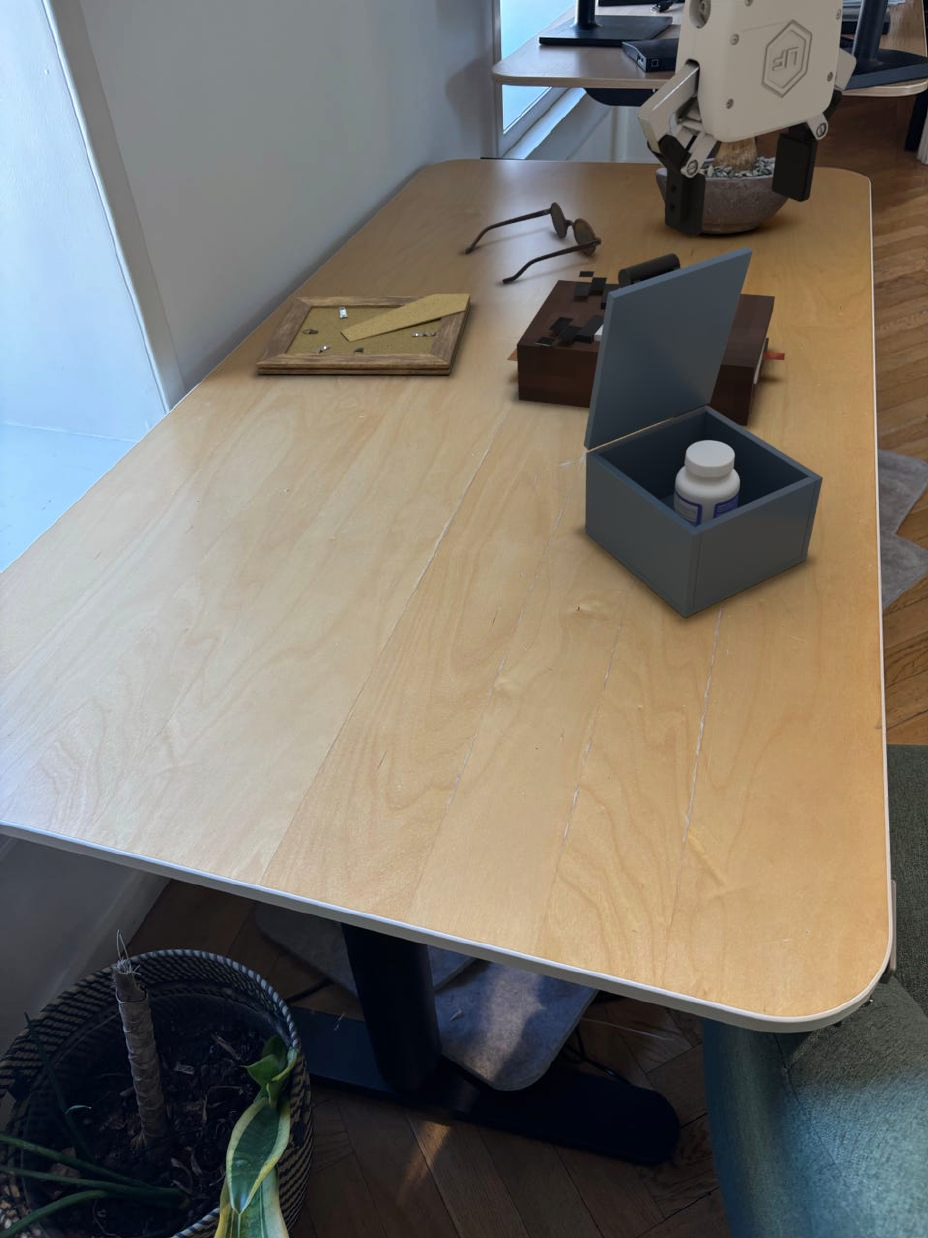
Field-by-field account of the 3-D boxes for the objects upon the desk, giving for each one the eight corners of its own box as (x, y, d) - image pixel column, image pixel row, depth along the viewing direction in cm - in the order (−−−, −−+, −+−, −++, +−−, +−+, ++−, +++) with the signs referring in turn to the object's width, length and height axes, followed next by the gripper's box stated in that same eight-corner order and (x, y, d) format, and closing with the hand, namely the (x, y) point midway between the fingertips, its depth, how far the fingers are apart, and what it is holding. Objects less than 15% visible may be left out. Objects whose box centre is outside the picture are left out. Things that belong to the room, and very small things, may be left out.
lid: (753, 250, 79) (713, 220, 82) (614, 297, 75) (577, 264, 77) (710, 402, 91) (676, 372, 94) (588, 450, 87) (556, 417, 89)
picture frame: (470, 306, 131) (298, 307, 134) (470, 293, 130) (295, 294, 133) (449, 376, 117) (258, 375, 121) (448, 362, 116) (255, 361, 120)
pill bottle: (728, 525, 91) (740, 434, 84) (734, 563, 87) (748, 470, 80) (668, 525, 92) (675, 434, 85) (671, 562, 88) (679, 470, 81)
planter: (646, 233, 144) (654, 82, 131) (720, 200, 152) (735, 54, 138) (727, 260, 136) (745, 101, 122) (802, 224, 143) (826, 70, 130)
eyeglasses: (601, 261, 139) (601, 225, 135) (506, 286, 135) (504, 250, 131) (551, 228, 149) (550, 194, 145) (461, 250, 145) (459, 216, 141)
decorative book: (778, 367, 98) (491, 340, 107) (768, 434, 103) (495, 402, 112) (799, 286, 111) (542, 267, 120) (789, 348, 116) (543, 325, 125)
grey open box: (806, 560, 88) (823, 477, 82) (684, 618, 83) (693, 535, 77) (698, 483, 98) (706, 404, 92) (584, 532, 93) (585, 452, 87)
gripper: (695, -54, 53) (673, 262, 64) (926, -100, 58) (868, 197, 70) (611, -67, 58) (604, 228, 69) (832, -108, 63) (792, 170, 75)
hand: (737, 212), depth 69 cm, fingers open, 9 cm apart
